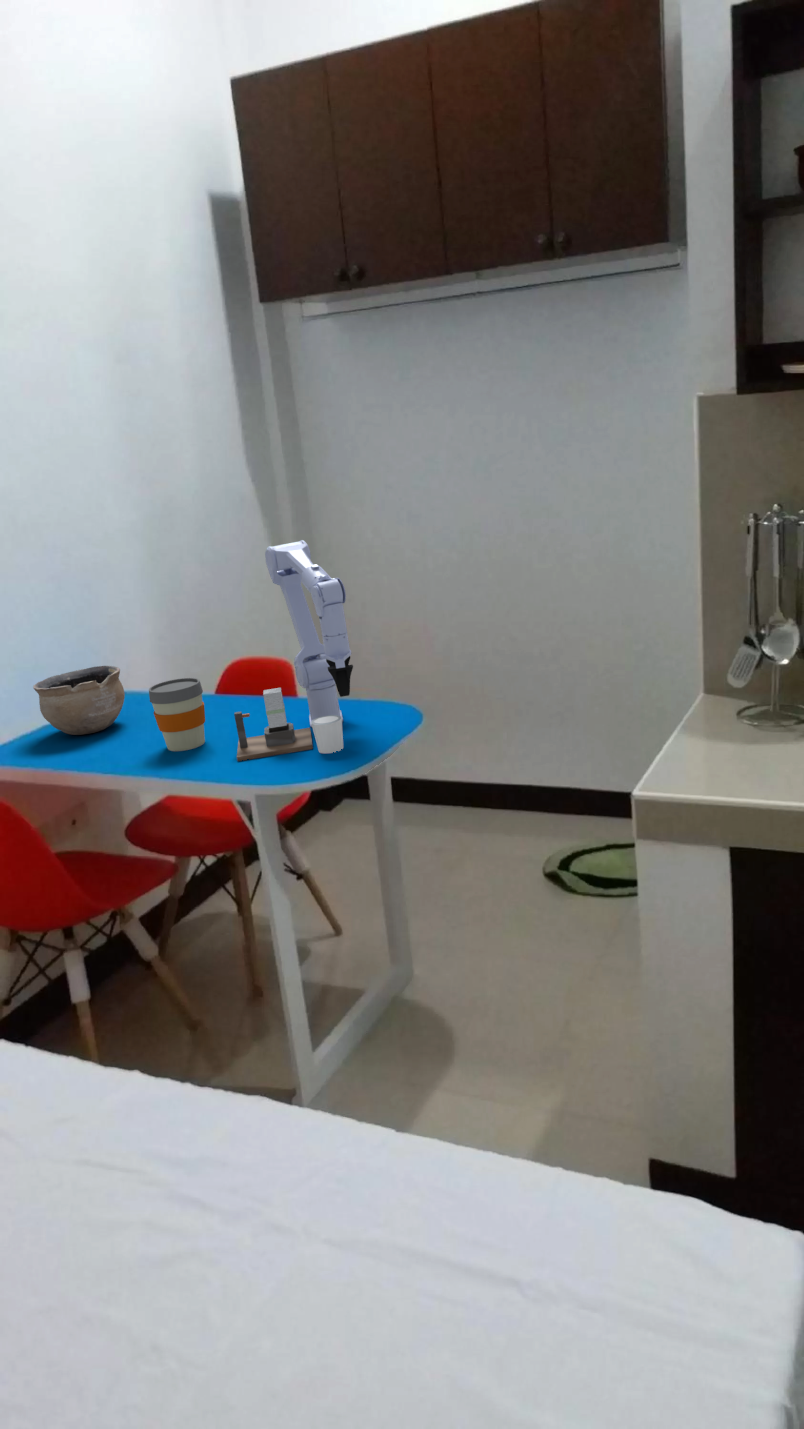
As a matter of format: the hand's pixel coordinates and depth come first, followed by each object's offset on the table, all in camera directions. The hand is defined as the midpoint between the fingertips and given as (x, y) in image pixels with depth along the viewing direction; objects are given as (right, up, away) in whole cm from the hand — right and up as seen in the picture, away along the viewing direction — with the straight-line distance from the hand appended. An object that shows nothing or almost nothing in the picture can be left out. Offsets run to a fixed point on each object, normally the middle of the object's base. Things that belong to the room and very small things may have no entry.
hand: (343, 691), depth 247 cm
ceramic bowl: (-69, -9, +39) cm, 80 cm away
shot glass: (-3, -13, -5) cm, 14 cm away
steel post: (-15, -7, +1) cm, 17 cm away
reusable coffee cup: (-39, -13, +14) cm, 43 cm away
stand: (-16, -12, +3) cm, 20 cm away
